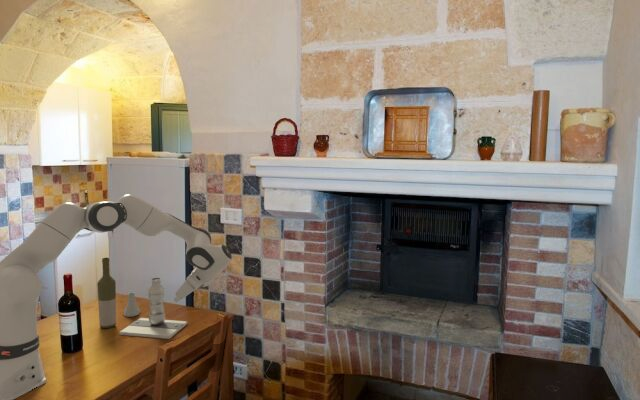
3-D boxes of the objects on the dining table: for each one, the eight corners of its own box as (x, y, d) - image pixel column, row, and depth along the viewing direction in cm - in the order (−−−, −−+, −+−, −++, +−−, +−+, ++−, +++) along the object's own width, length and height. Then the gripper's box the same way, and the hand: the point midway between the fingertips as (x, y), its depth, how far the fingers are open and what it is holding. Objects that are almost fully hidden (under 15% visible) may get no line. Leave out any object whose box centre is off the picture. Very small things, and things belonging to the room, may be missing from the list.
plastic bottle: (165, 325, 191) (165, 280, 189) (149, 327, 188) (147, 281, 186) (164, 320, 197) (163, 276, 195) (148, 322, 194) (147, 277, 192)
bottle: (120, 323, 196) (118, 256, 192) (111, 329, 189) (108, 260, 186) (104, 322, 196) (102, 256, 193) (95, 329, 189) (92, 260, 186)
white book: (169, 338, 181) (169, 334, 181) (119, 334, 184) (119, 330, 184) (186, 324, 197) (186, 320, 197) (140, 320, 200) (140, 316, 200)
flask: (119, 316, 205) (119, 295, 204) (130, 310, 212) (130, 290, 210) (132, 318, 203) (132, 296, 201) (143, 312, 209) (143, 292, 208)
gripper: (207, 264, 197) (186, 284, 200) (186, 277, 177) (164, 299, 180) (216, 274, 197) (196, 294, 200) (197, 288, 177) (174, 310, 180)
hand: (180, 297), depth 190 cm, fingers open, 8 cm apart
